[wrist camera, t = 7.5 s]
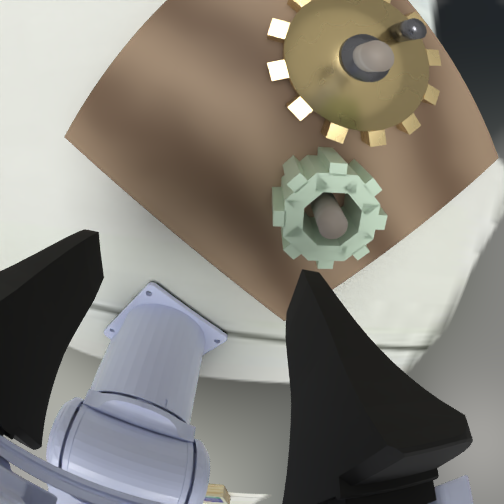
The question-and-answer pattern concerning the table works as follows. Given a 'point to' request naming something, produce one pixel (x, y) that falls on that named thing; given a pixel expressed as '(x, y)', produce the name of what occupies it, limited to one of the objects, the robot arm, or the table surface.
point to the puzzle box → (216, 494)
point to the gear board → (261, 141)
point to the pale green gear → (308, 189)
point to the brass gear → (354, 66)
